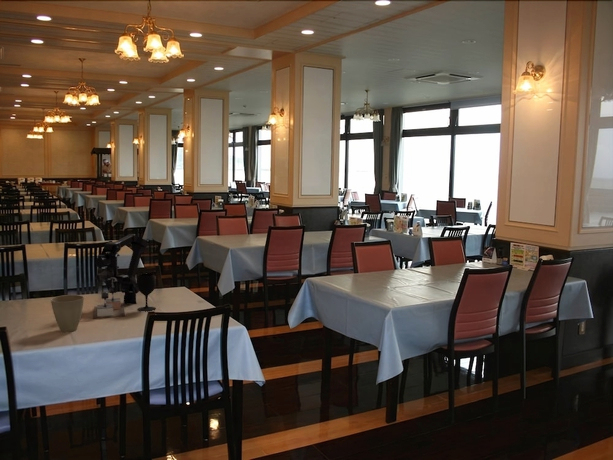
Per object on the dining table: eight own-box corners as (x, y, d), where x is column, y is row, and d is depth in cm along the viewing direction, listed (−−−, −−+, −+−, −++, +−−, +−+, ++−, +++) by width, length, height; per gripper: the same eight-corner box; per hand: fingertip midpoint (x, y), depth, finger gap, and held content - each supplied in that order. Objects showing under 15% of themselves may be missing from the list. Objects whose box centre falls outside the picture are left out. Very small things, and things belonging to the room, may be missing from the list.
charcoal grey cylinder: (116, 299, 319) (115, 286, 318) (116, 301, 316) (115, 287, 315) (109, 300, 318) (109, 286, 317) (109, 301, 314) (109, 287, 314)
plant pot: (51, 327, 277) (50, 296, 276) (84, 324, 283) (83, 293, 282) (51, 335, 264) (50, 302, 262) (85, 332, 270) (84, 300, 268)
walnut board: (123, 305, 325) (123, 304, 325) (125, 316, 300) (125, 315, 300) (94, 307, 319) (94, 306, 319) (93, 318, 295) (93, 317, 295)
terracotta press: (120, 305, 322) (120, 298, 322) (120, 308, 315) (120, 301, 314) (105, 306, 319) (105, 299, 319) (105, 309, 312) (105, 302, 312)
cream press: (113, 311, 308) (112, 304, 307) (113, 315, 300) (113, 307, 300) (97, 312, 305) (97, 305, 305) (97, 316, 298) (97, 308, 297)
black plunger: (108, 305, 304) (108, 291, 304) (108, 307, 301) (108, 293, 300) (101, 306, 303) (101, 292, 302) (101, 307, 300) (101, 293, 299)
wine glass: (133, 310, 314) (132, 275, 312) (146, 306, 324) (145, 272, 322) (146, 312, 310) (146, 277, 308) (160, 308, 319) (159, 274, 317)
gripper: (88, 266, 310) (89, 293, 312) (116, 268, 304) (116, 296, 305) (102, 263, 321) (102, 289, 322) (129, 265, 314) (129, 292, 316)
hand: (112, 292), depth 316 cm, fingers closed on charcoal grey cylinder, 4 cm apart
